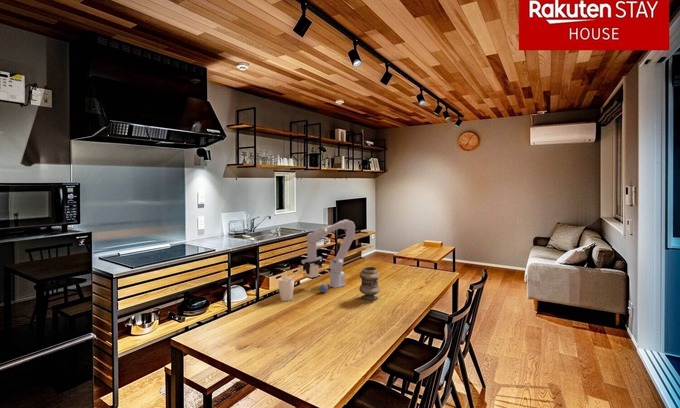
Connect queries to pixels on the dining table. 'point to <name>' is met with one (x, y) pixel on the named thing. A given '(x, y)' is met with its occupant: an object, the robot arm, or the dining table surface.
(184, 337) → the dining table surface
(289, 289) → the cup
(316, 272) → the beige block
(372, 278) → the apothecary jar
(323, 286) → the ball
